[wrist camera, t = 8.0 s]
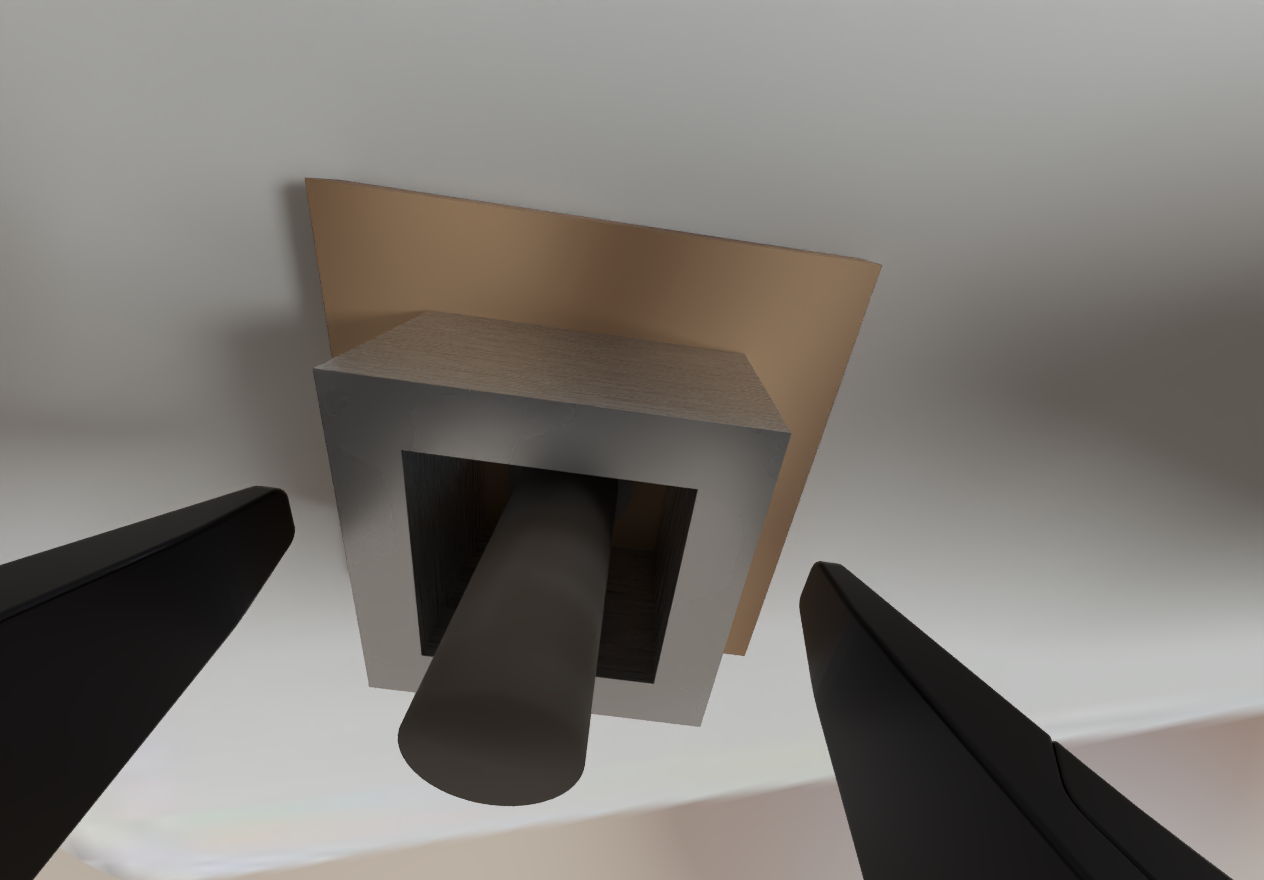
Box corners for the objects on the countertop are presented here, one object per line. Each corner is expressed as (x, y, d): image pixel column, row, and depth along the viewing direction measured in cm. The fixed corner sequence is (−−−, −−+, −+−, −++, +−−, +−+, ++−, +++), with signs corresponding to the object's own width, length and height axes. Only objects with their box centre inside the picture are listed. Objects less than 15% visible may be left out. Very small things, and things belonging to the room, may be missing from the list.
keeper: (859, 258, 9) (1287, 381, 3) (738, 626, 14) (810, 982, 8) (339, 180, 9) (-373, 135, 3) (388, 580, 14) (160, 909, 7)
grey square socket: (745, 353, 9) (791, 432, 6) (687, 587, 12) (700, 726, 9) (430, 309, 9) (312, 367, 6) (444, 557, 12) (369, 686, 9)
